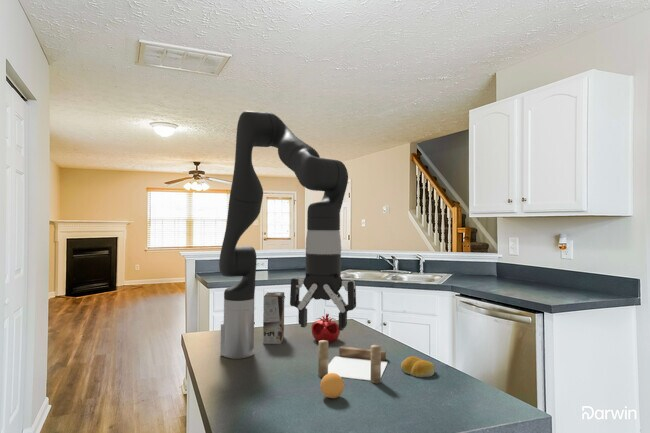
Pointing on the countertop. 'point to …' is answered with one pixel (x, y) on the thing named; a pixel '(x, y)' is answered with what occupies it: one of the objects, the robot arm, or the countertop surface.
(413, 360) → the bread roll
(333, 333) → the pomegranate
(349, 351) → the stopper rail
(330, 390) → the ball
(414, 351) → the countertop surface
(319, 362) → the post
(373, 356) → the post
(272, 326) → the coffee box
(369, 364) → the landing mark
